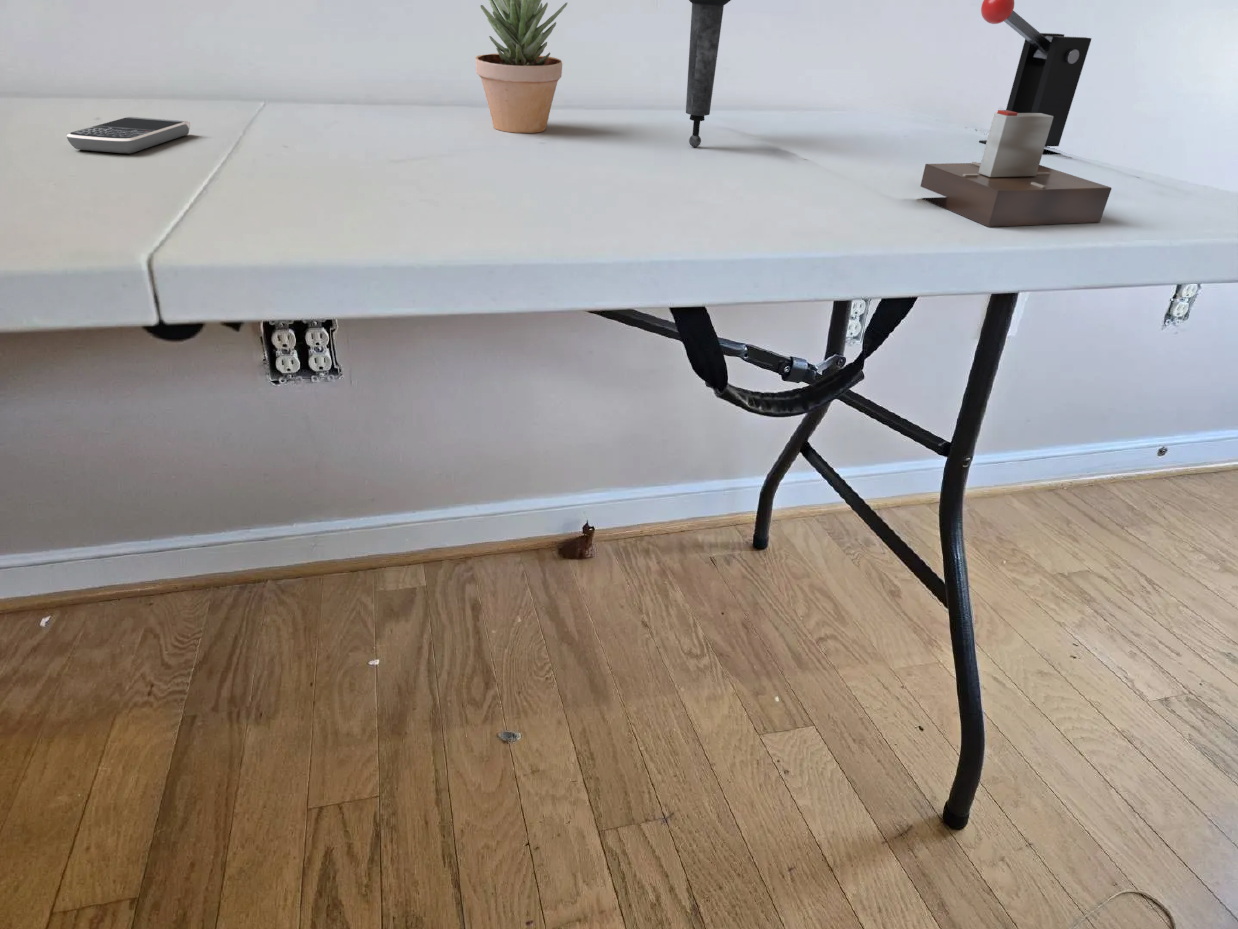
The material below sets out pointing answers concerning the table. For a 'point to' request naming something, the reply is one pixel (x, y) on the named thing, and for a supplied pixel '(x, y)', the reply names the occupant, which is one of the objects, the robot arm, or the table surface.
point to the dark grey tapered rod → (702, 60)
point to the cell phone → (128, 134)
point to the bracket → (1049, 82)
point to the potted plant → (519, 67)
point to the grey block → (1015, 144)
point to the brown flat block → (1015, 196)
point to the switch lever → (1016, 25)
